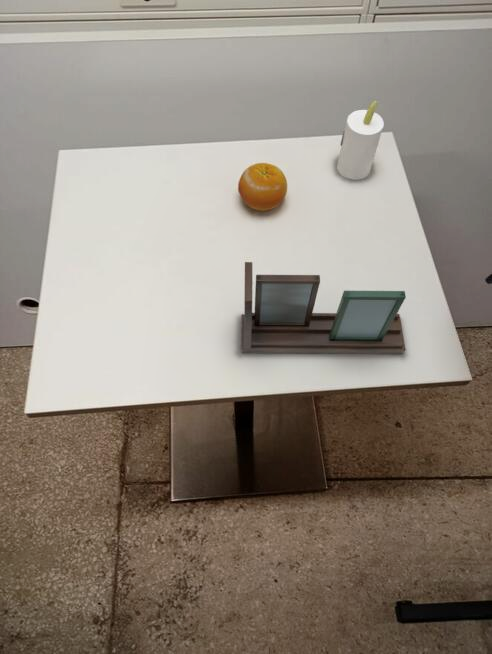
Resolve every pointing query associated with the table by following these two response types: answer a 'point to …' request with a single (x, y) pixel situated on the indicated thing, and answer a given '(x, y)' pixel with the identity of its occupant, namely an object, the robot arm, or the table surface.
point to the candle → (359, 143)
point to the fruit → (262, 186)
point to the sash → (365, 315)
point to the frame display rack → (299, 320)
